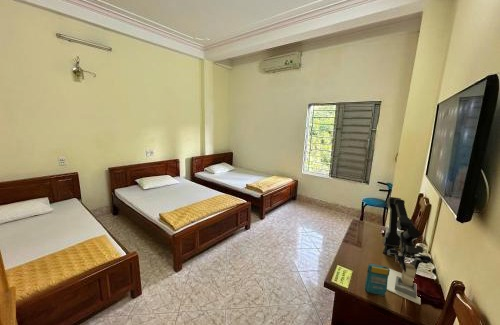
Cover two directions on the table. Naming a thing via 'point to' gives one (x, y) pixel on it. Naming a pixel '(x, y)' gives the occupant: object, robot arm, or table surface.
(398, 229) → the supplement box
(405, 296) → the pocket board
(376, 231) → the table surface
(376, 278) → the handheld gaming console
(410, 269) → the birch post
